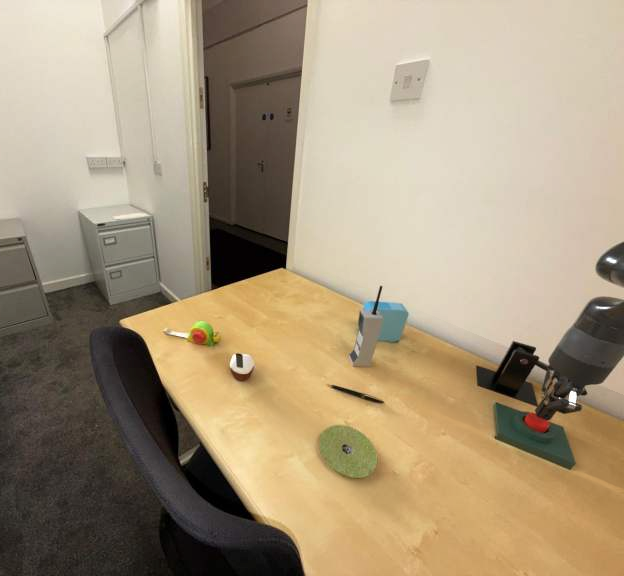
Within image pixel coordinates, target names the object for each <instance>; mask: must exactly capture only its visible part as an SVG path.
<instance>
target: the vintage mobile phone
mask: <svg viewBox="0 0 624 576" xmlns="http://www.w3.org/2000/svg"><path fill="white" fill-rule="evenodd" d="M382 290H383V285H379V288H378V292H377V296H376V300H375V301H376V302H375V305H374V309H373V310H363V309H360V310H359V313H358V320H357V321H358V322H357V326H358V327H359V329H358V330H357V334H356V338H355V343H354V347H353V350H352V351H351V352H350V353H349V354H348V359H349V361H350V364H351V366H352V367H359V368H360V367H361V368H363V367H364V368H365V367H366V368H369V367H371V364H372V361H373V357H374V354H375V350H376V347H377V344H378V341H377V340H378V337H379V333H380V330H381V327H382V323H383V320H384V319H383V317H382V316H381V315H380V313H379V312H378V311H377V307H378V303H379V302H380V297H381V294H382Z"/></svg>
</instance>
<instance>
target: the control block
mask: <svg viewBox="0 0 624 576" xmlns="http://www.w3.org/2000/svg"><path fill="white" fill-rule="evenodd" d="M492 408H493V415H494V425H495V426H494V427H495V435H494V439H495V440H496V441H498V442H501V443H503V444H506V445H509V446H511V447H514V448H515V449H518V450H521V451H522V452H525V453H528V454H530V455H532V456H535V457H537V458H539V459H543V460H544V461H547V462H549V463H552V464H554V465H556V466H558V467H562V468H564V469H566V470H569V471H571V470H572V469H573V468H574V466H575V465H576V460H575V457H574V454H573V451H572V448H571V446H570V442H569V440H568V437H567V433H566V431H565V428H564V426H563V425H560V424H557V423H554V422H552V421H550V420H548V422H549V423H550V426H549V428H548V429H547V430H546V432H543V433H541V432H538V431H536V430H533V429H532V428H530V427H529V426H527V425H526V423H525V422H524V419H525V417H526V416H527V414H528V413H531V412H530V411H522V410H519V409H517V408H513V407H511V406H508V405H505V404H502V403H499V402H497V401H495V402H494V403H493V405H492Z"/></svg>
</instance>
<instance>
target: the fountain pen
mask: <svg viewBox="0 0 624 576" xmlns="http://www.w3.org/2000/svg"><path fill="white" fill-rule="evenodd" d="M326 386H328V387H331V389H334V390H337V391H341V392H343V393H346V394H348V395H352V396H355V397H358V398H361V399H362V400H363V399H364V400H367V401H370V402H374V403H379V404H385V403H386V402H385V401H384V400H383V399H380V398H378V397H376V396H373V395H370V394H367V393H364V392H360V391H357V390H353V389H350V388H346V387H342V386H340V385H339V386H338V385H335V384H329V383H326Z"/></svg>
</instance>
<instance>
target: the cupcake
mask: <svg viewBox="0 0 624 576" xmlns="http://www.w3.org/2000/svg"><path fill="white" fill-rule="evenodd" d="M254 366H255V361H254V359H253V358H252V356H251V355H249V354H248V353H247V354H246V353H239V352H236V353H234V354H232V357H231V360H230V363H229V367H230V373H231V376H232V377H233V378H234V379H236V380H238V381H247V380H248V379H249V378H250V377H251V376H252V374H253V372H254V368H255V367H254Z"/></svg>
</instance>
